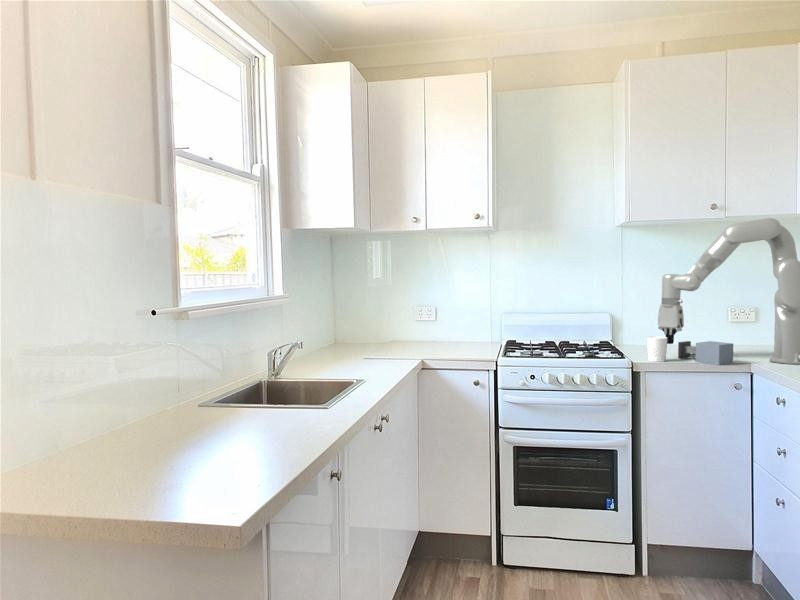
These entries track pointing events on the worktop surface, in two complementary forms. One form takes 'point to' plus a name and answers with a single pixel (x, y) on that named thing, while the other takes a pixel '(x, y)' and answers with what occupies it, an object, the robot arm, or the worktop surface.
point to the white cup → (657, 348)
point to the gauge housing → (714, 353)
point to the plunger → (686, 349)
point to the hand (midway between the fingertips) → (669, 343)
